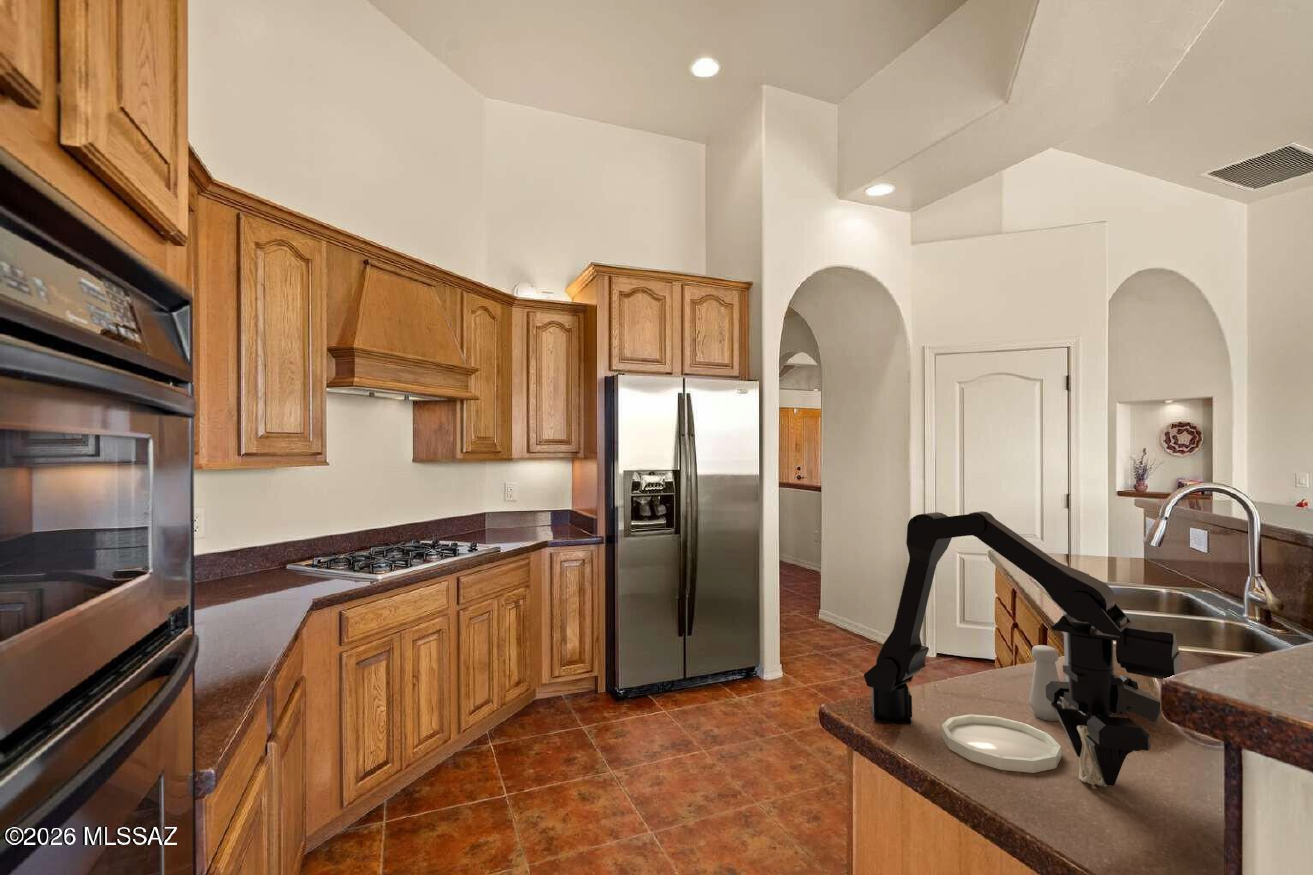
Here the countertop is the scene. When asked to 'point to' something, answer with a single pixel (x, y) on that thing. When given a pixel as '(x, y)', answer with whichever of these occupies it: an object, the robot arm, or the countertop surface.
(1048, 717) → the salt shaker
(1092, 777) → the bracelet
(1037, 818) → the countertop surface
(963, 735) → the ring dish
